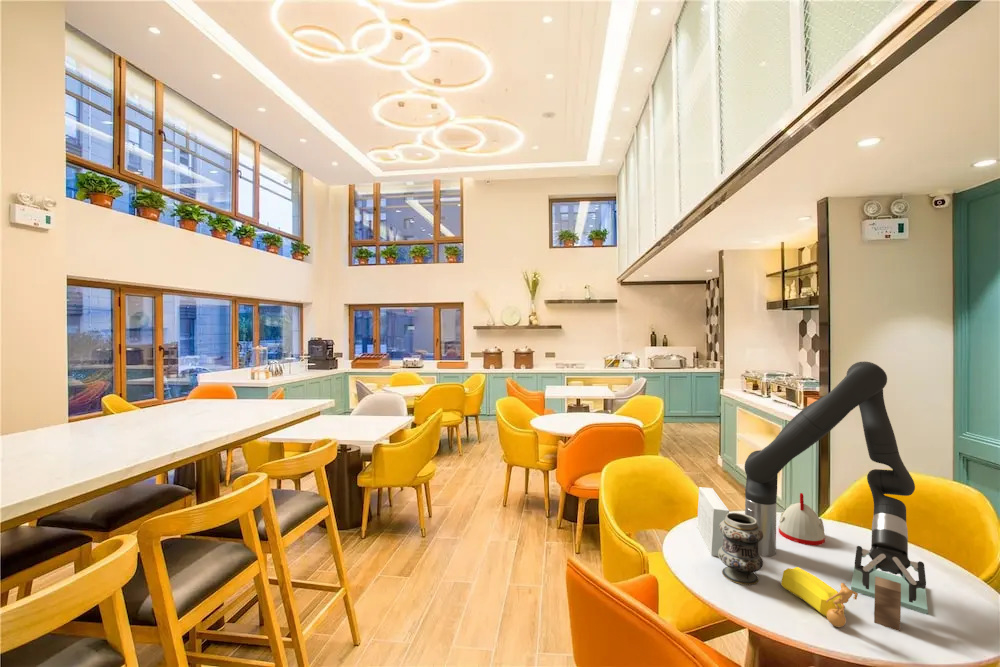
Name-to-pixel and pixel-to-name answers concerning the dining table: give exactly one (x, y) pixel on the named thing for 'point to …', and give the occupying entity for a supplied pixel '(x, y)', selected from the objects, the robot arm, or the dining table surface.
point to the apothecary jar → (740, 548)
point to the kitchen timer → (801, 524)
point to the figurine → (836, 614)
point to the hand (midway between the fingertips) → (888, 594)
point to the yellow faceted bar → (810, 589)
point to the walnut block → (887, 603)
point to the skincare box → (711, 519)
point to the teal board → (920, 601)
